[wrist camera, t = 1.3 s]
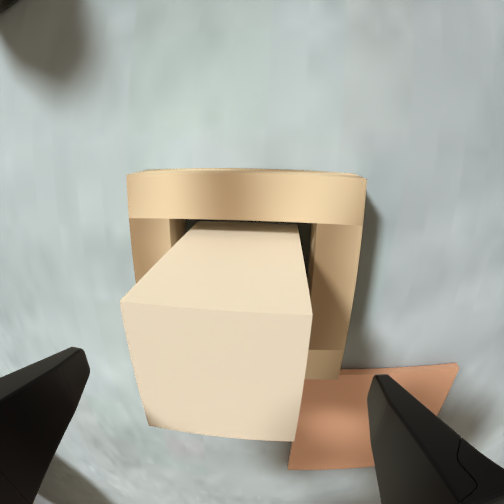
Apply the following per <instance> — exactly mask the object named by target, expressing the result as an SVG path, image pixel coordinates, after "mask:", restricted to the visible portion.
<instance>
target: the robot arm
mask: <svg viewBox="0 0 504 504" xmlns="http://www.w3.org/2000/svg"><path fill="white" fill-rule="evenodd" d="M89 374H90V368H89V364H88V361H87V358H86V355H85V352H84V350H83V349H81V348H76V347H70V348H68V349H66V350H63V351H61V352H59V353H57V354H54V355H52V356H50V357H47V358H45V359H43V360H40V361H38V362H36V363H34V364H31V365H29V366H27V367H24V368H22V369H20V370H17V371H15V372H13V373H10V374H8V375H6V376H3V377H1V378H0V504H33V502H34V500H35V497H36V495H37V492H38V490H39V488H40V485H41V483H42V481H43V478H44V476H45V474H46V472H47V469H48V467H49V465H50V463H51V461H52V458H53V456H54V454H55V452H56V450H57V448H58V446H59V443H60V441H61V439H62V437H63V435H64V433H65V431H66V429H67V427H68V425H69V423H70V421H71V419H72V417H73V415H74V413H75V411H76V408H77V406H78V403H79V401H80V398H81V395H82V393H83V390H84V388H85V385H86V382H87V380H88V377H89ZM367 407H368V418H369V430H370V442H371V449H372V454H373V459H374V464H375V469H376V475H377V480H378V486H379V491H380V497H381V503H382V504H504V469H503V468H502V467H500V466H499V465H497V464H496V463H494V462H493V461H491V460H490V459H489V458H487V457H486V456H484V455H483V454H482V453H480V452H479V451H478V450H477V449H475V448H474V447H473V446H472V445H470V444H469V443H468V442H467V441H466V440H464V439H463V438H461V436H460V435H458V434H457V433H456V432H455V431H454V430H453V429H451V428H450V427H449V426H448V425H447V424H445V423H444V422H443V421H442V420H441V419H440V418H438V417H437V416H436V415H435V414H434V413H433V412H431V411H430V410H429V409H428V408H427V407H426V406H424V405H423V404H422V403H421V402H420V401H419V400H417V399H416V398H415V397H414V396H413V395H411V394H410V393H409V392H408V391H407V390H406V389H404V388H403V387H402V386H401V385H400V384H399V383H397V382H396V381H395V380H394V379H393V378H392V377H390V376H389V375H388V374H376V375H374V377H373V379H372V382H371V385H370V389H369V392H368V395H367Z"/></svg>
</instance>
